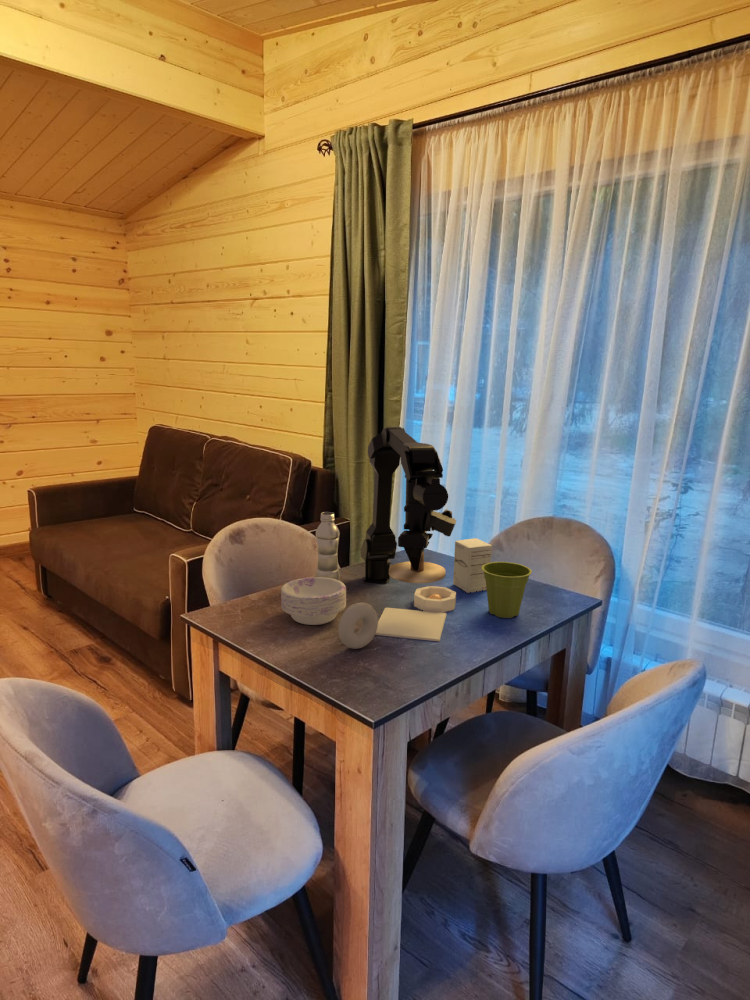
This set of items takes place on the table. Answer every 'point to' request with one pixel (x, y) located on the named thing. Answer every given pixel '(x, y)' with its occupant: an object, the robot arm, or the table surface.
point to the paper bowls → (313, 599)
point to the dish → (435, 599)
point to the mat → (411, 624)
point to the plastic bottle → (327, 547)
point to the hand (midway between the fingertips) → (416, 567)
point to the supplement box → (471, 564)
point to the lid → (417, 572)
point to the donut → (350, 620)
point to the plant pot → (505, 587)
